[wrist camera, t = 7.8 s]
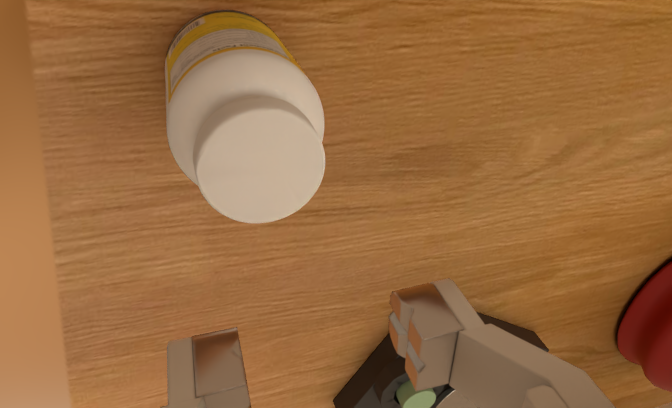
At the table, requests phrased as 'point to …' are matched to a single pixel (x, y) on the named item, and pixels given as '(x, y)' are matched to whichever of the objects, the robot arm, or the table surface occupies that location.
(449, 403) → the scale pan
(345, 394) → the scale
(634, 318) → the table lamp
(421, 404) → the button
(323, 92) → the table surface
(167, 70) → the pill bottle
